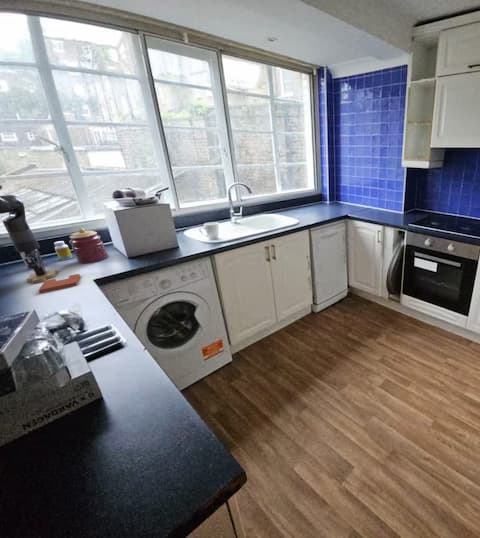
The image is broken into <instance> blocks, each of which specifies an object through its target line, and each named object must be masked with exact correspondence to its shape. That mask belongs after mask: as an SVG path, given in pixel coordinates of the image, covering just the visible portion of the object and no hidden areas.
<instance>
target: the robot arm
mask: <svg viewBox="0 0 480 538" xmlns="http://www.w3.org/2000/svg"><path fill="white" fill-rule="evenodd" d="M2 189H3V185H2V183H0V191H1V190H2ZM3 214H8V216H7V217H6V218H4V219H3V220H2V224H3V226H4V228H5V230H6V232H7V234H8V236H9V239H10V241H11V243H12V245H13V246H14V248H15V251H16V252H18V253H19V252H24V253H25V255H24V256H25V258H26V259H25V261H26V263H27V264H28V265H29V267H30V268H31V269H30V268H29V269H30V270H33V269H34V270H35V272H36V274H37V276H41V275H43V274H44V273H43V271H42V269H41V267H40V265H39V263H42V264H43V263H44V261H43V258H42V256H41V253H40V251H39V250H38V249H40V247H41V246H40V244H39V242H38V239H37V238H36V236H35V234H34V232H33V231H32V229H31V228H30V225H29V223H28V221H27V219H26V218H27V217H26V210H25V204H24V202H23V200H21V198H19V197H18V196H17V195H15V194H5V195H0V215H3ZM36 249H37V251H36ZM34 265H35V266H34ZM34 270H33V271H34ZM35 272H34V273H35Z"/></svg>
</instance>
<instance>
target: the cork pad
mask: <svg viewBox="0 0 480 538" xmlns="http://www.w3.org/2000/svg"><path fill="white" fill-rule="evenodd" d="M39 265H40V267H41V269H42V271H43V273H44V274H43V275H41V276H37V274H36V272H35V270H34V269H32V270H33V271H34V272H33V273H30V274H29V276H28V277H26V282H27V283H32V284H37V283H38V284H39V283H44V281H46V280H49V279H54V278H55V276H57V273H58V270H57V268H53V269H48V270H46V268H45V266H44V265H43V264H42V263H39ZM34 266H35V265H34Z"/></svg>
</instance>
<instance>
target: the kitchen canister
mask: <svg viewBox="0 0 480 538" xmlns="http://www.w3.org/2000/svg"><path fill="white" fill-rule="evenodd" d="M68 238H70V240H69V241H68V242H69V244H70V245H71V249H72V250H73V252H74V255H75V257H76V261H78V263H80V264H90V263H95V262H99V261H102V260H105V259H106V258H108V252H107V250H106V247H105V245H104V242H103V241H102V239H101V235H98V232H97V231H95V230H85V228H83V227H82V228H79V229H77V231H76V232H74V233H71V235H70V236H68Z"/></svg>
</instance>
